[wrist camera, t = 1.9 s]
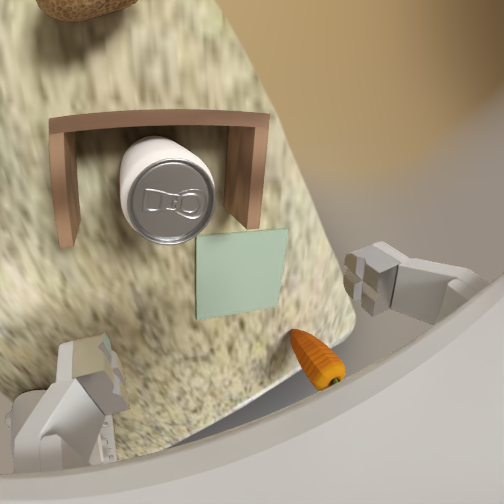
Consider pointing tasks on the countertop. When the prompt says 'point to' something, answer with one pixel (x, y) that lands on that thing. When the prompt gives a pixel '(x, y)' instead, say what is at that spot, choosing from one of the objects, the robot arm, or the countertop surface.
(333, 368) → the carrot
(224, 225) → the countertop surface
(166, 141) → the can
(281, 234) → the mat
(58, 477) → the robot arm
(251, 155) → the brown wooden u-shaped frame
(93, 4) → the natural sponge
